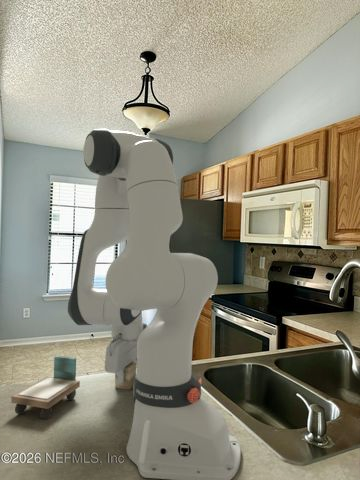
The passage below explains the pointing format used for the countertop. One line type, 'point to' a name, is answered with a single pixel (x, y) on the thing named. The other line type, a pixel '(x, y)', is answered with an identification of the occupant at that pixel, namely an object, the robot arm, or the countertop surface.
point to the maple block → (127, 377)
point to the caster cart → (49, 388)
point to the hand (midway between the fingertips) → (125, 378)
